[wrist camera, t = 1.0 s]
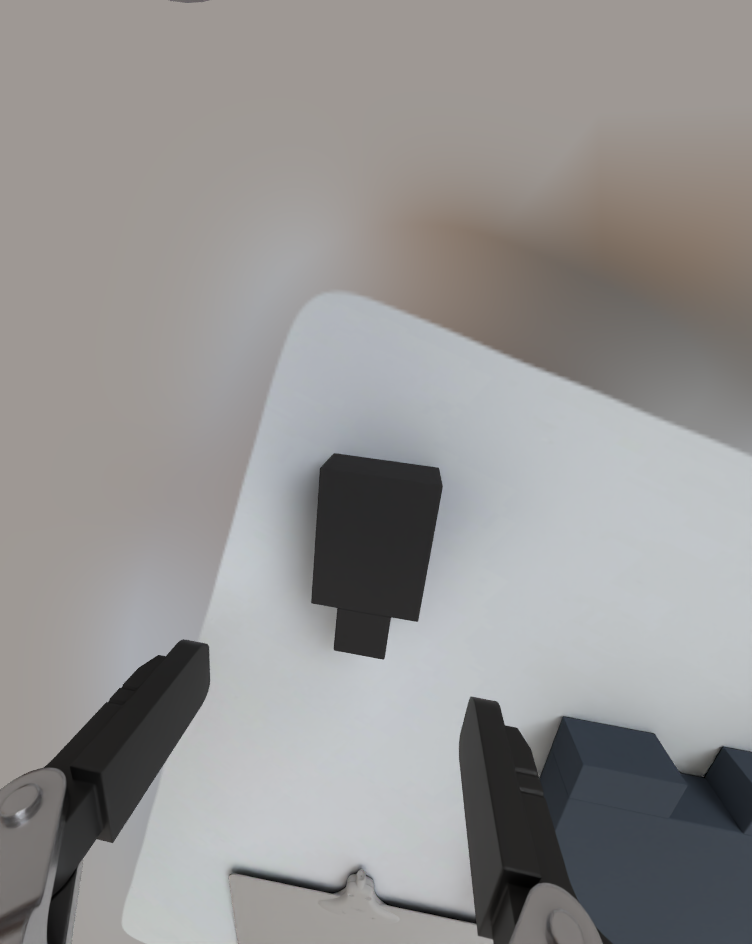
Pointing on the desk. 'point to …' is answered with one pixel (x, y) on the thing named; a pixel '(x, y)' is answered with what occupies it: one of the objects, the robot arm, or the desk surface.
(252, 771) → the desk surface
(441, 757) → the desk surface
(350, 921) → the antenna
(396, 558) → the pad tile
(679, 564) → the desk surface
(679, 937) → the pad mat
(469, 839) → the robot arm
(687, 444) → the desk surface
